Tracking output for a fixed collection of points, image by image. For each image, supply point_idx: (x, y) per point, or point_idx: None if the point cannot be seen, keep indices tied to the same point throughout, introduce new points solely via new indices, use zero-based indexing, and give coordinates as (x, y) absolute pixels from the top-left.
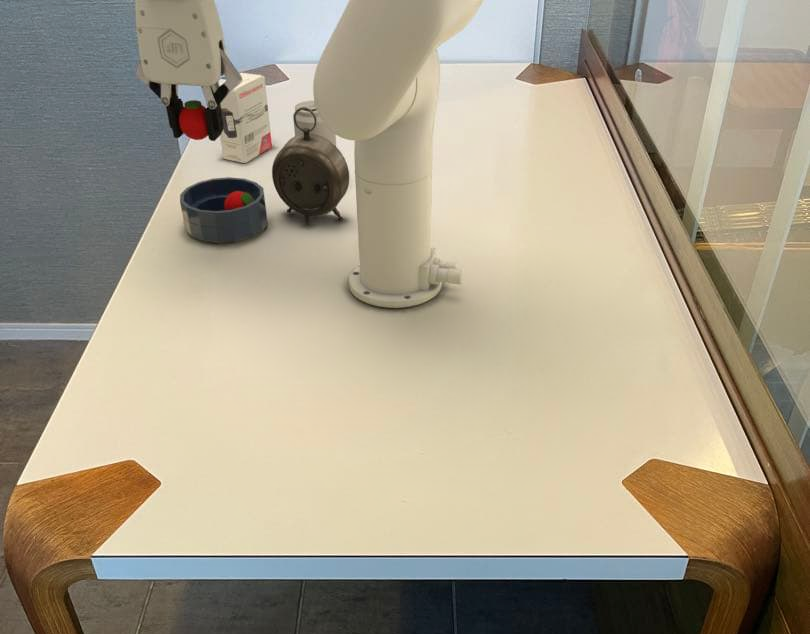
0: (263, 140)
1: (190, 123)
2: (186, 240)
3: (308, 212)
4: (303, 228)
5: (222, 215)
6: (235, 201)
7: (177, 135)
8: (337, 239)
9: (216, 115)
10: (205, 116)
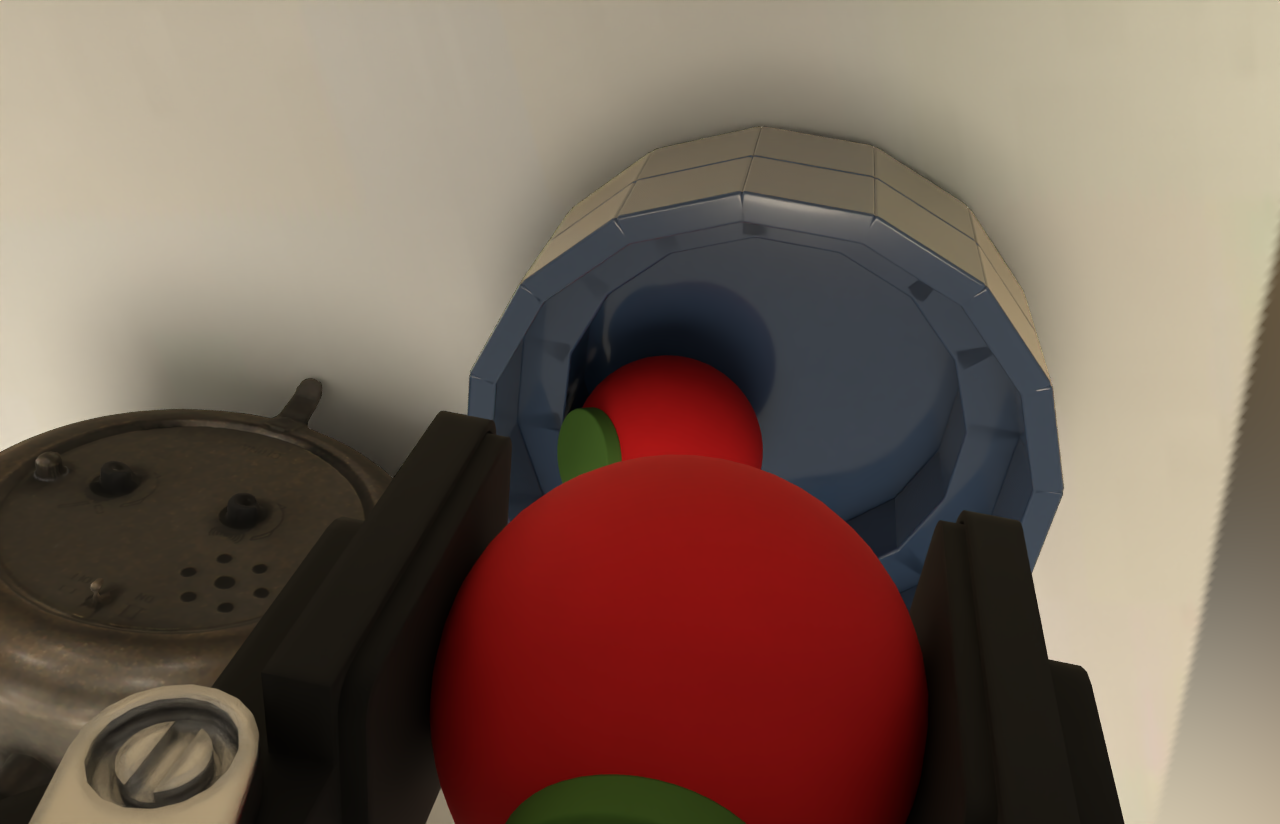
0: None
1: (679, 543)
2: (1009, 198)
3: (268, 419)
4: (327, 354)
5: (687, 195)
6: (654, 425)
7: (964, 531)
8: (103, 227)
9: (251, 652)
10: (399, 621)
